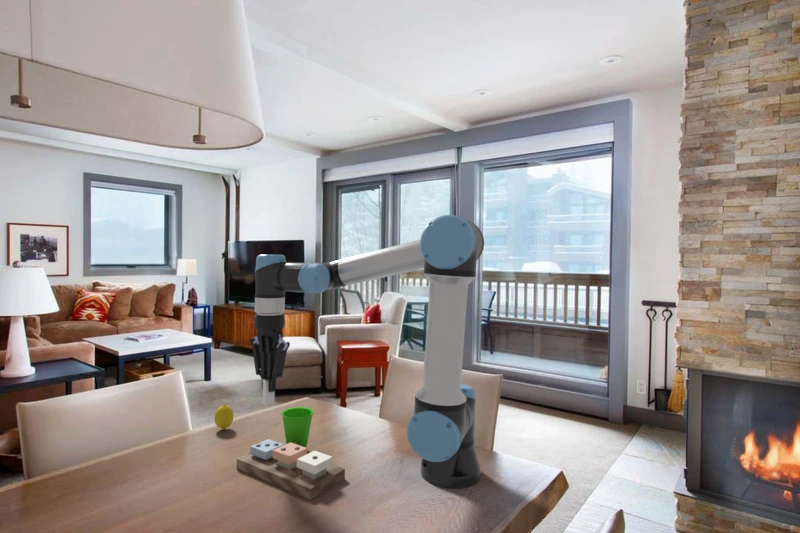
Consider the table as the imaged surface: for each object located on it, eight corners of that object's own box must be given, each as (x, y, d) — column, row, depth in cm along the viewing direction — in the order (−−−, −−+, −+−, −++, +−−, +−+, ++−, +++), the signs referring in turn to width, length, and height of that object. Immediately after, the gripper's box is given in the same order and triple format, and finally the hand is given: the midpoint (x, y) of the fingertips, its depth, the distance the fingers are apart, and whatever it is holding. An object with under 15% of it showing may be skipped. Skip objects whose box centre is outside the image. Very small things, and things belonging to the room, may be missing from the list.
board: (344, 478, 113) (344, 468, 113) (310, 499, 103) (310, 488, 102) (273, 452, 127) (273, 443, 127) (236, 468, 117) (236, 458, 117)
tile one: (332, 474, 111) (332, 455, 111) (314, 484, 106) (315, 464, 106) (314, 467, 114) (314, 449, 114) (296, 477, 109) (296, 458, 109)
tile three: (283, 460, 120) (283, 443, 120) (265, 469, 115) (265, 451, 115) (268, 455, 123) (268, 438, 123) (250, 463, 118) (250, 445, 118)
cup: (309, 458, 124) (310, 418, 123) (276, 457, 124) (276, 417, 124) (316, 444, 133) (316, 407, 132) (285, 443, 133) (285, 406, 133)
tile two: (306, 465, 115) (307, 447, 115) (289, 474, 110) (289, 455, 110) (290, 459, 119) (290, 441, 119) (272, 467, 114) (272, 449, 114)
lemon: (236, 429, 143) (237, 403, 143) (221, 434, 138) (222, 408, 138) (225, 425, 146) (226, 400, 146) (210, 430, 141) (210, 404, 141)
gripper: (298, 314, 118) (296, 404, 119) (264, 310, 125) (263, 395, 126) (275, 317, 112) (274, 412, 112) (241, 312, 119) (240, 402, 119)
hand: (268, 403), depth 119 cm, fingers closed
